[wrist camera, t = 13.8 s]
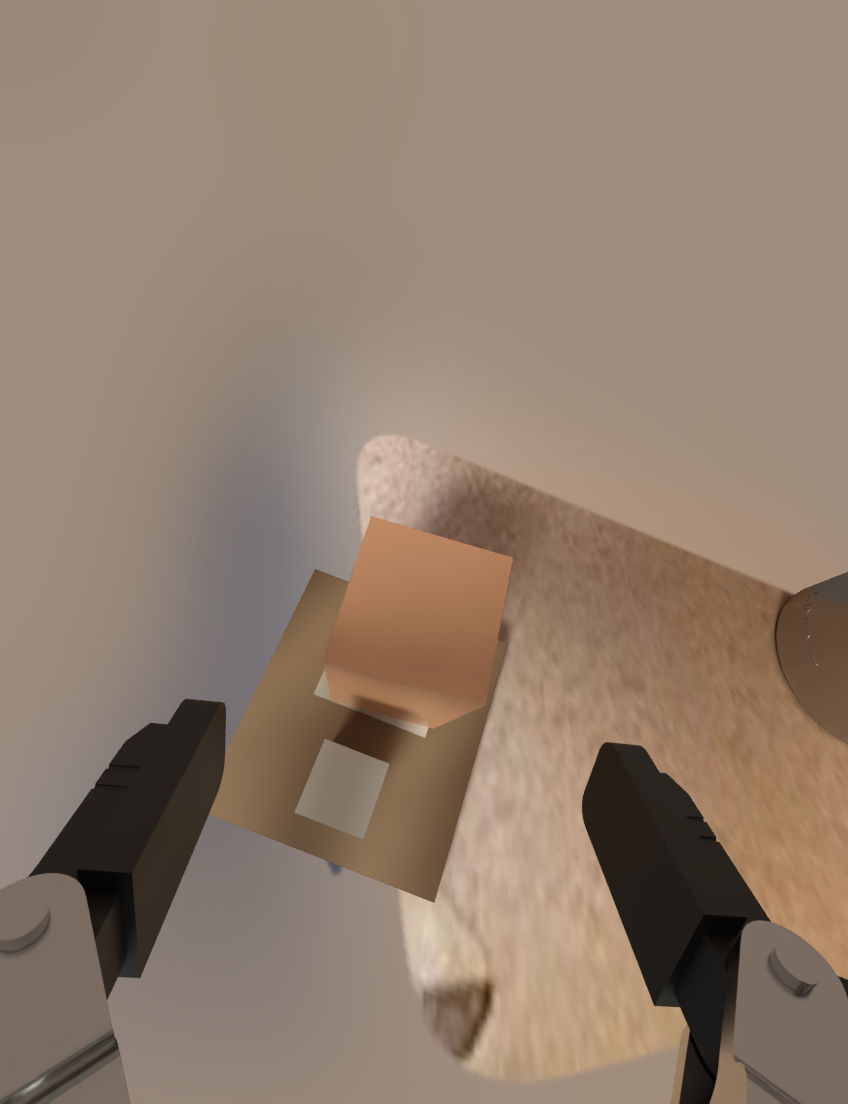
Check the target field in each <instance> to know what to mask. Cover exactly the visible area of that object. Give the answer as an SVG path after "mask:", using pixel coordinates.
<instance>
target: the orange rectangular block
mask: <svg viewBox="0 0 848 1104" xmlns="http://www.w3.org/2000/svg"><path fill="white" fill-rule="evenodd" d="M512 562H513V557H509V556H506V555H502V554H499V553H495V552H492V551H489V550H485V549H482V548H478V547H475V546H471V545H468V544H465V543H461V542H458V541H454V540H451V539H447V538H444V537H441V536H437V535H434V534H430V533H427V532H423V531H420V530H417V529H413V528H410V527H406V526H403V525H399V524H396V523H392V522H389V521H386V520H382V519H379V518H375V517H372V516H371V518H370V521H369V524H368V527H367V530H366V533H365V536H364V539H363V542H362V545H361V548H360V551H359V554H358V558H357V560H356V563H355V566H354V569H353V572H352V575H351V578H350V581H349V584H348V587H347V590H346V593H345V596H344V599H343V602H342V605H341V608H340V611H339V614H338V617H337V620H336V623H335V626H334V629H333V632H332V635H331V638H330V641H329V644H328V647H327V649H326V652H325V655H324V658H323V663H324V668H325V673H326V678H327V682H328V687H329V692H330V697H331V700H332V701H335V702H339V703H342V704H346V705H350V706H353V707H357V708H360V709H364V710H367V711H371V712H375V713H378V714H382V715H385V716H389V717H393V718H396V719H400V720H403V721H407V722H411V723H414V724H418V725H421V726H425V727H429V728H432V729H433V728H436V727H438V726H440V725H443V724H445V723H447V722H449V721H452V720H454V719H456V718H459V717H461V716H463V715H465V714H468V713H470V712H472V711H475V710H477V709H479V708H481V707H484V706H485V704H486V699H487V694H488V688H489V683H490V678H491V673H492V667H493V662H494V657H495V651H496V646H497V641H498V636H499V630H500V625H501V620H502V614H503V609H504V604H505V599H506V593H507V588H508V583H509V577H510V572H511V567H512Z"/></svg>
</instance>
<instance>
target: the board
mask: <svg viewBox="0 0 848 1104" xmlns="http://www.w3.org/2000/svg"><path fill="white" fill-rule="evenodd" d="M348 584H349V582H347V581H344V580H342V579H339V578H337V577H334V576H332V575H329V574H326V573H324V572H321V571H319V570H316V569H315V571H314V573H313V575H312V577H311V579H310V581H309V583H308V585H307V587H306V589H305V591H304V593H303V595H302V597H301V599H300V601H299V603H298V605H297V607H296V609H295V611H294V614H293V615H292V618H291V620H290V622H289V624H288V626H287V628H286V630H285V632H284V634H283V636H282V638H281V640H280V642H279V644H278V646H277V648H276V650H275V652H274V655H273V656H272V658H271V660H270V663H269V665H268V667H267V669H266V671H265V673H264V675H263V677H262V679H261V681H260V683H259V685H258V687H257V689H256V691H255V693H254V695H253V697H252V699H251V701H250V703H249V705H248V707H247V709H246V711H245V714H244V716H243V718H242V720H241V722H240V724H239V726H238V728H237V730H236V732H235V734H234V736H233V738H232V740H231V742H230V744H229V746H228V748H227V750H226V752H225V765H224V771H223V776H222V780H221V784H220V788H219V791H218V793H217V796H216V798H215V801H214V803H213V805H212V808H211V810H210V813H209V814H210V815H213V816H215V817H217V818H220V819H223V820H225V821H228V822H230V823H233V824H235V825H238V826H240V827H243V828H246V829H248V830H251V831H253V832H256V833H258V834H261V835H264V836H266V837H268V838H271V839H273V840H276V841H278V842H281V843H284V844H286V845H289V846H291V847H294V848H296V849H299V850H301V851H304V852H307V853H309V854H312V855H314V856H317V857H319V858H322V859H324V860H327V861H329V862H332V863H334V864H337V865H340V866H342V867H345V868H347V869H350V870H352V871H355V872H357V873H360V874H362V875H365V876H368V877H370V878H373V879H375V880H378V881H380V882H383V883H385V884H388V885H391V886H393V887H395V888H398V889H401V890H403V891H406V892H408V893H411V894H413V895H416V896H418V897H421V898H423V899H426V900H429V901H431V902H435V898H436V895H437V891H438V888H439V884H440V881H441V877H442V874H443V870H444V866H445V863H446V859H447V856H448V852H449V849H450V845H451V842H452V838H453V835H454V831H455V828H456V824H457V821H458V817H459V814H460V810H461V807H462V803H463V800H464V796H465V793H466V789H467V785H468V782H469V778H470V775H471V771H472V768H473V764H474V761H475V757H476V754H477V750H478V747H479V743H480V740H481V736H482V733H483V729H484V726H485V722H486V719H487V715H488V711H489V708H490V704H491V701H492V697H493V694H494V690H495V687H496V683H497V680H498V676H499V673H500V669H501V666H502V662H503V659H504V655H505V652H506V648H507V645H508V644H507V643H504V642H502V641H499V640H498V641H497V646H496V651H495V657H494V662H493V667H492V673H491V678H490V683H489V688H488V694H487V699H486V704H485V706H484V707H481V708H479V709H477V710H475V711H472V712H470V713H468V714H465V715H463V716H461V717H459V718H456V719H454V720H452V721H449V722H447V723H445V724H443V725H440V726H438V727H436V728H433V729H432V728H429V727H425V726H421V725H418V724H414V723H411V722H407V721H403V720H400V719H396V718H393V717H389V716H385V715H382V714H378V713H375V712H371V711H367V710H364V709H360V708H357V707H353V706H350V705H346V704H342V703H339V702H335V701H332V700H331V697H330V692H329V687H328V682H327V678H326V673H325V668H324V663H323V658H324V655H325V652H326V649H327V647H328V644H329V641H330V638H331V635H332V632H333V629H334V626H335V623H336V620H337V617H338V614H339V611H340V608H341V605H342V602H343V599H344V596H345V593H346V590H347V587H348Z"/></svg>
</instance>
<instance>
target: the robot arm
mask: <svg viewBox="0 0 848 1104" xmlns="http://www.w3.org/2000/svg"><path fill="white" fill-rule="evenodd" d="M776 638H777V651H778V655H779V659H780V663H781V667H782V670H783V672H784V674H785V677H786V679H787V681H788V683H789V686H790V688H791V689H792V691H793V692H794V694H795V695H796V697H797V698H798V700H799V702H800V703H801V705H802V706H803V707H804V708H805V709H806V710H807V711H808V713H809V714H810V715H811V716H812V717H813V718H814V719H815V721H817V722H818V723H819V724H820V725H821V726H822V727H824V728H825V729H826V730H827V731H828V732H830V733H831V734H832V735H834V736H835V737H837V738H839V739H840V740H842V741H844V742H845V743H847V744H848V572H847V573H844V574H842V575H839V576H836V577H834V578H831V579H829V580H826V581H824V582H821V583H818V584H816V585H813V586H811V587H808V588H806V589H803V590H802V591H800V592H798V593H797V594H795V595H794V596H792V597H791V599H790V600H789V601H788V602H787V603H786V605H785V606H784V608H783V610H782V612H781V614H780V617H779V620H778V626H777V632H776ZM225 726H226V708H225V704H224V703H223V702H213V701H203V700H194V699H185V700H184V701H183V702H182V703H181V704H180V706H179V708H178V709H177V710H176V712H175V714H174V715H173V717H172V718H171V720H170V722H169V723H168V725H167V724H156V723H150V724H148V725H147V726H146V727H144V728H143V729H142V730H140V731H139V732H138V733H136V734H135V735H133V736H132V737H131V738H130V739H128V740H127V741H125V743H124V744H123V746H122V747H121V749H120V750H119V751H118V753H117V754H116V755H115V757H114V758H113V760H112V761H111V762H110V764H109V768H108V769H106V770H105V771H104V772H103V774H102V775H101V777H100V778H99V779H98V781H97V782H96V784H95V788H94V789H91V791H90V792H89V793H88V795H87V796H86V798H85V799H84V801H83V802H82V803H81V805H80V806H79V807H78V809H77V810H76V812H75V813H74V815H73V816H72V817H71V819H70V820H69V822H68V823H67V824H66V826H65V827H64V829H63V830H62V831H61V833H60V834H59V836H58V837H57V838H56V840H55V841H54V843H53V844H52V845H51V847H50V848H49V850H48V851H47V853H46V854H45V855H44V857H43V858H42V860H41V861H40V862H39V864H38V865H37V866H36V868H35V869H34V870H33V872H32V873H31V874H30V875H29V876H28V877H27V878H25V879H22V880H19V881H17V882H15V883H13V884H11V885H9V886H7V887H5V888H3V889H2V890H0V1104H130V1099H129V1094H128V1089H127V1085H126V1080H125V1075H124V1070H123V1065H122V1060H121V1056H120V1051H119V1047H118V1043H117V1040H116V1039H115V1037H114V1033H113V1029H112V1024H111V1019H110V1014H109V1009H108V1004H107V999H108V997H109V995H110V993H111V991H112V988H113V986H114V984H115V982H116V980H117V977H132V978H140V977H141V975H142V972H143V970H144V967H145V965H146V963H147V960H148V958H149V956H150V953H151V951H152V948H153V946H154V944H155V941H156V939H157V936H158V934H159V932H160V929H161V927H162V924H163V922H164V920H165V917H166V915H167V913H168V910H169V908H170V906H171V903H172V901H173V898H174V896H175V893H176V891H177V889H178V886H179V884H180V881H181V879H182V877H183V874H184V872H185V870H186V867H187V865H188V863H189V860H190V858H191V855H192V853H193V851H194V848H195V846H196V844H197V841H198V839H199V836H200V834H201V831H202V829H203V827H204V824H205V822H206V820H207V817H208V815H209V813H210V810H211V808H212V805H213V803H214V801H215V798H216V796H217V793H218V791H219V788H220V784H221V780H222V776H223V771H224V765H225V729H226V727H225ZM582 813H583V820H584V824H585V827H586V830H587V832H588V835H589V838H590V840H591V843H592V845H593V848H594V851H595V853H596V856H597V858H598V861H599V864H600V866H601V869H602V871H603V874H604V877H605V879H606V882H607V884H608V887H609V889H610V892H611V895H612V897H613V900H614V902H615V905H616V908H617V910H618V913H619V915H620V918H621V921H622V923H623V926H624V928H625V931H626V934H627V936H628V939H629V941H630V944H631V947H632V949H633V952H634V954H635V957H636V960H637V962H638V965H639V967H640V970H641V973H642V975H643V978H644V980H645V983H646V986H647V988H648V991H649V993H650V996H651V999H652V1001H653V1004H654V1006H669V1007H680V1008H681V1010H682V1012H683V1015H684V1017H685V1020H686V1022H687V1024H686V1026H685V1028H684V1030H683V1032H682V1035H681V1040H680V1047H679V1053H678V1059H677V1065H676V1072H675V1078H674V1084H673V1091H672V1097H671V1104H848V980H847V979H844V978H842V977H839V976H837V975H836V973H835V972H834V970H833V969H832V967H831V966H830V965H829V964H828V962H827V961H826V960H825V959H824V958H823V957H822V956H821V955H820V954H819V952H818V951H816V950H815V949H814V948H813V947H812V946H811V945H810V944H809V943H807V942H806V941H805V940H804V939H802V938H801V937H800V936H798V935H797V934H795V933H794V932H792V931H790V930H788V929H787V928H785V927H783V926H780V925H778V924H775V923H772V922H771V921H770V919H769V918H768V917H767V915H766V913H765V912H764V910H763V909H762V907H761V906H760V904H759V903H758V901H757V900H756V898H755V896H754V895H753V893H752V892H751V890H750V889H749V887H748V886H747V884H746V883H745V881H744V879H743V878H742V876H741V875H740V873H739V872H738V870H737V869H736V867H735V866H734V864H733V862H732V861H731V859H730V858H729V856H728V855H727V853H726V852H725V850H724V848H723V847H722V845H721V844H720V842H717V841H716V836H715V835H714V833H713V831H712V830H711V828H710V827H709V825H708V824H707V822H704V821H703V816H702V814H701V813H700V811H699V810H698V808H697V807H696V805H695V804H694V802H693V801H692V799H691V797H690V796H689V794H688V793H687V792H686V791H684V790H683V789H682V788H681V787H680V786H679V785H678V784H677V783H676V782H675V781H674V780H673V779H672V778H671V777H670V776H669V775H667V774H666V773H660V772H659V771H658V769H657V767H656V766H655V764H654V763H653V761H652V759H651V758H650V756H649V754H648V753H647V751H646V750H645V749H644V748H643V747H642V746H639V745H630V744H620V743H610V742H606V743H604V744H603V745H602V746H601V748H600V750H599V753H598V756H597V758H596V761H595V764H594V767H593V769H592V772H591V775H590V778H589V780H588V783H587V786H586V789H585V791H584V795H583V800H582Z"/></svg>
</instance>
